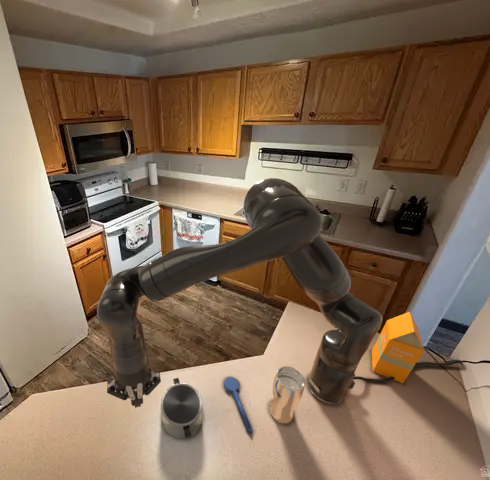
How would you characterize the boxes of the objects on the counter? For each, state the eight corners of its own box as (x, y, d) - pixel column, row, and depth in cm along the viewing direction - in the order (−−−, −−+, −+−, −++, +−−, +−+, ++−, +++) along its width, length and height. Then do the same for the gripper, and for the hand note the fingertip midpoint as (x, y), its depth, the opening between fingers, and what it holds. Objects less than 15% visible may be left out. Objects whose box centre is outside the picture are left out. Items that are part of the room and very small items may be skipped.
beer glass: (296, 428, 68) (309, 394, 60) (269, 422, 69) (278, 389, 62) (291, 401, 74) (302, 367, 66) (266, 396, 75) (274, 363, 68)
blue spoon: (235, 377, 80) (235, 374, 80) (258, 431, 67) (259, 428, 67) (221, 380, 80) (221, 377, 79) (242, 435, 67) (243, 433, 66)
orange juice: (372, 371, 81) (396, 325, 71) (371, 350, 87) (393, 306, 78) (403, 383, 77) (433, 337, 67) (400, 361, 84) (427, 315, 74)
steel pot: (194, 385, 79) (194, 373, 76) (209, 441, 66) (210, 428, 63) (158, 393, 77) (156, 381, 74) (167, 452, 64) (165, 440, 61)
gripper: (97, 379, 52) (110, 426, 60) (162, 366, 54) (166, 412, 62) (99, 349, 58) (111, 394, 67) (157, 338, 60) (161, 383, 69)
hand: (137, 403), depth 64 cm, fingers closed
